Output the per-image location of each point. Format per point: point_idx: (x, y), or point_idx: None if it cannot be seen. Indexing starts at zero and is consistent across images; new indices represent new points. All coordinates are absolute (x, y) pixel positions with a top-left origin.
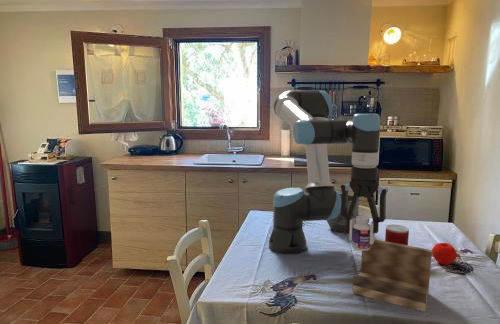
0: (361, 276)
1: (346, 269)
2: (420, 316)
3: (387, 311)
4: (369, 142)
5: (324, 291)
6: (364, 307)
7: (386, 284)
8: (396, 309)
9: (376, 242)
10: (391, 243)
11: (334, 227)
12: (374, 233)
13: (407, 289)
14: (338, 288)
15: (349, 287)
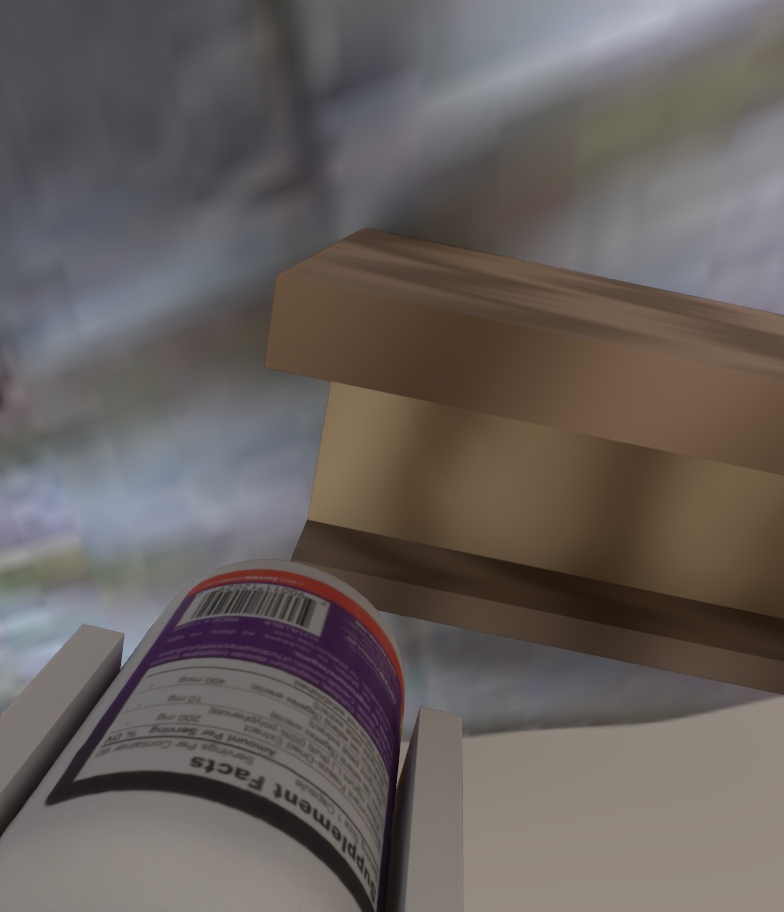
0: (356, 581)
1: (207, 100)
2: None
3: (551, 675)
4: None
5: (119, 559)
6: (406, 671)
7: (570, 646)
8: None
9: (508, 412)
10: (770, 434)
11: None
12: (457, 855)
13: (737, 683)
14: (204, 489)
15: (282, 449)
